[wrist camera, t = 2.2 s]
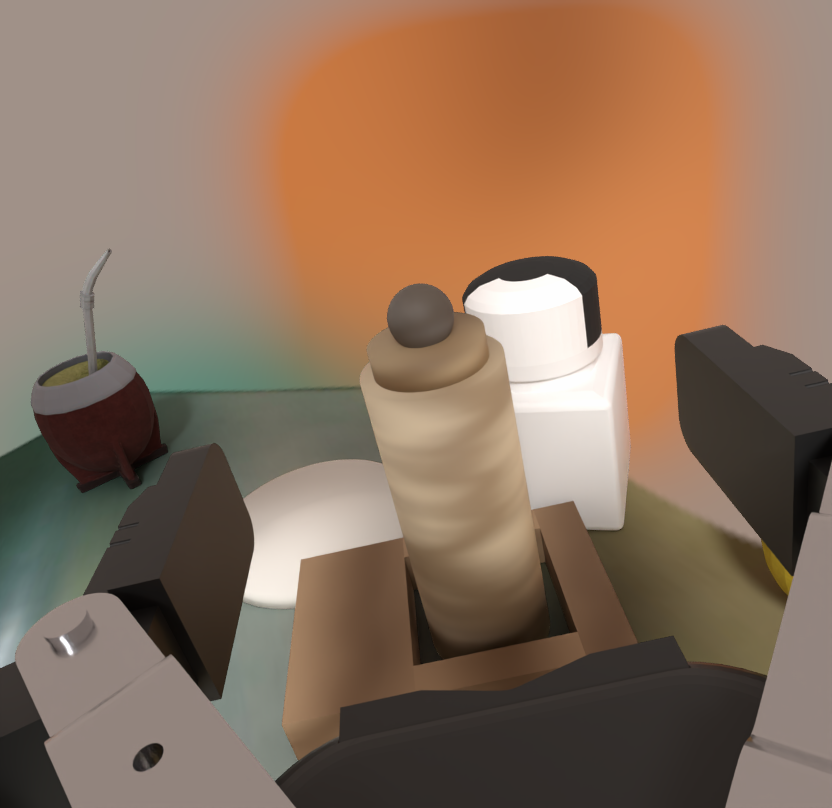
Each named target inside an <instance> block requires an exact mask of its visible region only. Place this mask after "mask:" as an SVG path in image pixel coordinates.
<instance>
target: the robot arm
mask: <svg viewBox="0 0 832 808" xmlns="http://www.w3.org/2000/svg"><path fill="white" fill-rule="evenodd" d="M675 363H676V378H677V395H678V410H679V421H680V426H681V430H682V433H683V436H684V439H685V442H686V444H687V446H688V448H689V449H690V451H691V452H692V454H693V455H694V456H695V457H696V458H697V460H698V461H699V462H700V463H701V465H702V466H703V467H704V468H705V470H706V471H707V472H708V473H709V475H710V476H711V477H712V478H713V480H714V481H715V482H716V483H717V485H718V486H719V487H720V488H721V489H722V491H723V492H724V493H725V494H726V495H727V497H728V498H729V499H730V501H731V502H732V503H733V504H734V506H735V507H736V508H737V509H738V511H739V512H740V513H741V514H742V516H743V517H744V518H745V519H746V521H747V522H748V523H749V524H750V525H751V527H752V528H753V529H754V530H755V532H756V533H757V534H758V535H759V537H760V538H761V539H762V540H763V542H764V543H765V544H766V545H767V547H768V548H769V549H770V550H771V552H772V553H773V554H774V555H775V557H776V558H777V559H778V560H779V561H780V563H781V564H782V565H783V566H784V568H785V569H786V570H787V571H788V573H789V574H790V575H791V576H793V580H792V584H791V588H790V592H789V595H788V599H787V603H786V607H785V611H784V615H783V618H782V622H781V626H780V630H779V634H778V638H777V641H776V645H775V649H774V653H773V657H772V661H771V664H770V668H769V672H768V676H766V675H763V674H760V673H756V672H753V671H750V670H746V669H743V668H738V667H733V666H728V665H723V664H715V663H706V662H687V661H686V659H685V657H684V655H683V653H682V652H681V650H680V648H679V646H678V644H677V642H676V640H675V638H674V636H669V637H665V638H660V639H655V640H651V641H646V642H641V643H637V644H632V645H628V646H623V647H618V648H614V649H609V650H604V651H600V652H595V653H590V654H588V655H586V656H584V657H582V658H579V659H577V660H575V661H573V662H571V663H569V664H566V665H564V666H562V667H560V668H558V669H555V670H553V671H551V672H549V673H547V674H545V675H542V676H540V677H538V678H536V679H534V680H532V681H529V682H527V683H525V684H523V685H521V686H518V687H516V688H513V689H509V690H502V691H472V690H419V691H414V692H410V693H405V694H401V695H396V696H391V697H387V698H382V699H377V700H373V701H368V702H364V703H359V704H354V705H350V706H345V707H340V728H339V736H338V737H336V738H334V739H332V740H330V741H328V742H326V743H325V744H323V745H321V746H320V747H318V748H316V749H315V750H313V751H311V752H310V753H308V754H307V755H306V756H304V757H303V758H302V759H300V760H299V761H297V762H296V763H295V764H293V765H292V766H291V767H290V768H289V769H288V770H287V771H286V772H284V773H283V774H282V775H281V776H280V777H279V778H278V779H277V780H276V781H274V780H273V779H272V778H271V776H270V775H269V774H268V773H267V771H266V770H265V769H264V768H263V766H262V765H261V764H260V763H259V762H258V760H257V759H256V758H255V757H254V755H253V754H252V753H251V752H250V750H249V749H248V748H247V747H246V745H245V744H244V743H243V742H242V740H241V739H240V738H239V737H238V735H237V734H236V733H235V732H234V731H233V729H232V728H231V727H230V726H229V724H228V723H227V722H226V721H225V719H224V718H223V717H222V716H221V714H220V713H219V712H218V711H217V709H216V708H215V707H214V706H213V704H212V703H211V702H210V701H213V700H218V699H221V698H222V693H223V689H224V684H225V680H226V675H227V670H228V666H229V661H230V657H231V652H232V648H233V643H234V638H235V634H236V629H237V625H238V620H239V616H240V611H241V606H242V602H243V597H244V593H245V588H246V584H247V579H248V574H249V570H250V565H251V561H252V556H253V552H254V531H253V525H252V521H251V518H250V515H249V512H248V510H247V507H246V505H245V503H244V500H243V498H242V495H241V493H240V491H239V488H238V486H237V483H236V481H235V478H234V476H233V474H232V471H231V469H230V466H229V464H228V462H227V459H226V457H225V455H224V453H223V451H222V449H221V448H220V446H219V445H217V444H215V443H213V444H209V445H204V446H200V447H196V448H192V449H187V450H183V451H179V452H175V453H172V454H171V456H170V458H169V460H168V462H167V464H166V466H165V468H164V470H163V473H162V475H161V477H160V479H159V481H158V483H157V485H154V486H150V487H148V488H147V489H146V490H145V491H144V492H143V493H142V494H141V495H140V496H139V497H138V498H137V499H136V500H135V501H134V502H133V503H132V504H131V505H130V506H129V507H128V508H127V510H126V512H125V514H124V516H123V518H122V520H121V522H120V524H119V526H118V529H119V530H118V531H116V532H115V534H114V536H113V538H112V540H111V542H110V547H109V548H107V549H106V551H105V553H104V555H103V557H102V559H101V561H100V563H99V565H98V567H97V569H96V571H95V573H94V575H93V577H92V579H91V581H90V583H89V585H88V587H87V588H86V590H85V592H84V594H83V596H81V597H78V598H75V599H73V600H70V601H68V602H66V603H64V604H62V605H60V606H58V607H57V608H55V609H54V610H52V611H50V612H49V613H47V614H46V615H45V616H44V617H42V618H41V619H40V620H39V621H38V622H36V623H35V624H34V625H33V626H32V627H31V628H30V629H29V631H28V632H27V633H26V634H25V635H24V637H23V638H22V640H21V641H20V643H19V645H18V647H17V650H16V653H15V662H13V663H11V664H9V665H7V666H4V667H2V668H0V808H832V383H830V384H829V383H828V380H827V379H826V378H825V377H823V376H822V375H820V374H819V373H818V372H816V371H814V372H813V371H812V368H811V367H809V366H808V365H806V364H805V363H804V362H802V361H801V360H799V359H798V358H797V357H795V356H794V355H793V354H790V353H787V352H784V351H781V350H777V349H774V348H771V347H768V346H764V345H760V346H756V347H753V346H752V345H751V344H749V343H748V342H746V341H745V340H744V339H743V338H741V337H740V336H739V335H738V334H736V333H735V332H734V331H733V330H731V329H730V328H729V327H727V326H725V325H720V326H716V327H712V328H708V329H703V330H699V331H695V332H691V333H686V334H682V335H679V336H678V337H677V339H676V341H675Z"/></svg>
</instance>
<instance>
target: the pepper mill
mask: <svg viewBox="0 0 832 808" xmlns="http://www.w3.org/2000/svg"><path fill="white" fill-rule="evenodd" d="M387 322H388V328H386V329H384V330H383V331H381V332H380V333H378V334H377V335H376V336H375V337H374V338H372V339H371V341H370V342H369V344H368V346H367V354H368V358H369V363H368V364H367V365H366V366H365V367H364V369H363V370H362V372H361V374H360V385H361V389H362V392H363V396H364V399H365V403H366V406H367V410H368V413H369V417H370V420H371V424H372V428H373V431H374V435H375V438H376V442H377V445H378V449H379V452H380V456H381V459H382V463H383V467H384V470H385V474H386V477H387V481H388V484H389V488H390V491H391V495H392V498H393V502H394V506H395V509H396V513H397V516H398V520H399V523H400V527H401V530H402V534H403V537H404V541H405V544H406V548H407V552H408V555H409V559H410V562H411V566H412V569H413V573H414V576H415V580H416V583H417V587H418V591H419V594H420V598H421V601H422V605H423V608H424V612H425V615H426V619H427V622H428V626H429V630H430V633H431V637H432V640H433V644H434V646H435V649H436V651H437V652H438V654H439V655H440V657H441V658H442V659H443V660H445V659H449V658H454V657H459V656H464V655H468V654H473V653H478V652H483V651H488V650H492V649H497V648H502V647H507V646H512V645H516V644H521V643H526V642H531V641H535V640H540V639H545V638H548V635H549V631H550V618H549V612H548V606H547V600H546V594H545V589H544V583H543V577H542V571H541V565H540V559H539V553H538V547H537V541H536V536H535V530H534V524H533V518H532V512H531V506H530V500H529V494H528V489H527V483H526V477H525V471H524V465H523V459H522V453H521V447H520V441H519V436H518V430H517V424H516V418H515V412H514V406H513V400H512V394H511V388H510V383H509V377H508V371H507V365H506V359H505V353H504V349H503V346H502V345H501V343H500V342H499V341H497V340H496V339H494V338H492V337H490V336H488V335H486V332H485V327H484V323H483V322H482V320H481V319H480V318H478V317H476V316H474V315H471V314H467V313H459V312H454V311H453V307H452V304H451V302H450V300H449V299H448V297H447V296H446V295H445V294H444V293H443V292H442V291H441V290H439V289H438V288H436V287H434V286H432V285H428V284H413V285H410V286H407V287H405V288H403V289H402V290H400V291H399V292H398V293H397V294H396V295H395V296H394V298H393V299H392V301H391V303H390V305H389V308H388V313H387Z"/></svg>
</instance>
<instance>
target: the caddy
mask: <svg viewBox="0 0 832 808" xmlns="http://www.w3.org/2000/svg"><path fill="white" fill-rule="evenodd" d="M531 512H532V518H533V524H534V530H535V536H536V541H537V547H538V553H539V559H540V563H543V562H546V565H547V568H548V571H549V574H550V576H551V579H552V582H553V585H554V588H555V591H556V594H557V596H558V599H559V602H560V605H561V608H562V611H563V614H564V617H565V619H566V622H567V625H568V628H569V631H570V633H569V634H564V635H559V636H555V637H550V638H545V639H540V640H535V641H531V642H526V643H521V644H516V645H512V646H507V647H502V648H497V649H492V650H488V651H483V652H478V653H473V654H468V655H464V656H459V657H454V658H449V659H445V660H440V661H435V662H430V663H425V664H421V662H420V652H419V641H418V630H417V620H416V609H415V599H414V590H416V589H418V587H417V583H416V580H415V576H414V573H413V569H412V566H411V562H410V559H409V555H408V552H407V548H406V544H405V541H404V537H403V538H399V539H394V540H389V541H385V542H380V543H375V544H371V545H366V546H362V547H357V548H352V549H348V550H343V551H338V552H334V553H329V554H325V555H320V556H315V557H311V558H306V559H301V563H300V571H299V580H298V589H297V597H296V606H295V615H294V624H293V632H292V641H291V650H290V658H289V667H288V676H287V684H286V693H285V702H284V711H283V719H282V726H283V729H284V731H285V733H286V735H287V737H288V739H289V742H290V744H291V746H292V748H293V750H294V752H295V755H296V757H297V759H298V760H300V759H302V758H303V757H304V756H306V755H307V754H308V753H310V752H311V751H313V750H315V749H316V748H318V747H320V746H321V745H323V744H325V743H326V742H328V741H330V740H332V739H334V738H336V737H338V736H339V728H340V707H345V706H350V705H354V704H359V703H364V702H368V701H373V700H377V699H382V698H387V697H391V696H396V695H401V694H405V693H410V692H414V691H419V690H472V691H502V690H509V689H513V688H516V687H518V686H521V685H523V684H525V683H527V682H529V681H532V680H534V679H536V678H538V677H540V676H542V675H545V674H547V673H549V672H551V671H553V670H555V669H558V668H560V667H562V666H564V665H566V664H569V663H571V662H573V661H575V660H577V659H579V658H582V657H584V656H586V655H588V654H590V653H595V652H600V651H604V650H609V649H614V648H618V647H623V646H628V645H632V644H637V643H638V641H637V639H636V637H635V635H634V633H633V630H632V628H631V626H630V624H629V622H628V619H627V617H626V615H625V613H624V611H623V608H622V606H621V604H620V602H619V600H618V597H617V595H616V593H615V591H614V589H613V586H612V584H611V582H610V580H609V578H608V575H607V573H606V571H605V569H604V567H603V565H602V562H601V560H600V558H599V556H598V554H597V551H596V549H595V547H594V545H593V543H592V540H591V538H590V536H589V534H588V532H587V529H586V527H585V525H584V523H583V521H582V518H581V516H580V514H579V512H578V510H577V507H576V505H575V503H574V501H570V502H565V503H561V504H556V505H551V506H547V507H542V508H537V509H533V510H531Z"/></svg>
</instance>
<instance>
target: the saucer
mask: <svg viewBox="0 0 832 808" xmlns="http://www.w3.org/2000/svg"><path fill="white" fill-rule="evenodd" d="M243 500H244V503H245V505H246V507H247V510H248V512H249V515H250V518H251V521H252V525H253V531H254V552H253V556H252V561H251V565H250V570H249V574H248V579H247V584H246V588H245V593H244V597H243V602H244V603H246V604H250V605H253V606H256V607H262V608H268V609H293V608H295V606H296V597H297V589H298V580H299V571H300V563H301V559H306V558H311V557H315V556H320V555H325V554H329V553H334V552H338V551H343V550H348V549H352V548H357V547H362V546H366V545H371V544H375V543H380V542H385V541H389V540H394V539H399V538H403V534H402V530H401V527H400V523H399V520H398V516H397V513H396V509H395V506H394V502H393V498H392V495H391V491H390V488H389V484H388V481H387V477H386V474H385V470H384V467H383V464H382V463H378V462H374V461H368V460H357V459H346V460H334V461H327V462H321V463H317V464H313V465H309V466H305V467H302V468H299V469H296V470H293V471H291V472H288V473H286V474H283V475H281V476H279V477H277V478H275V479H273V480H271V481H269V482H267V483H266V484H264V485H262V486H261V487H259V488H258V489H256V490H254V491H253V492H252V493H250V494H249V495H248V496H246V497H245V498H244V499H243Z"/></svg>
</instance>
